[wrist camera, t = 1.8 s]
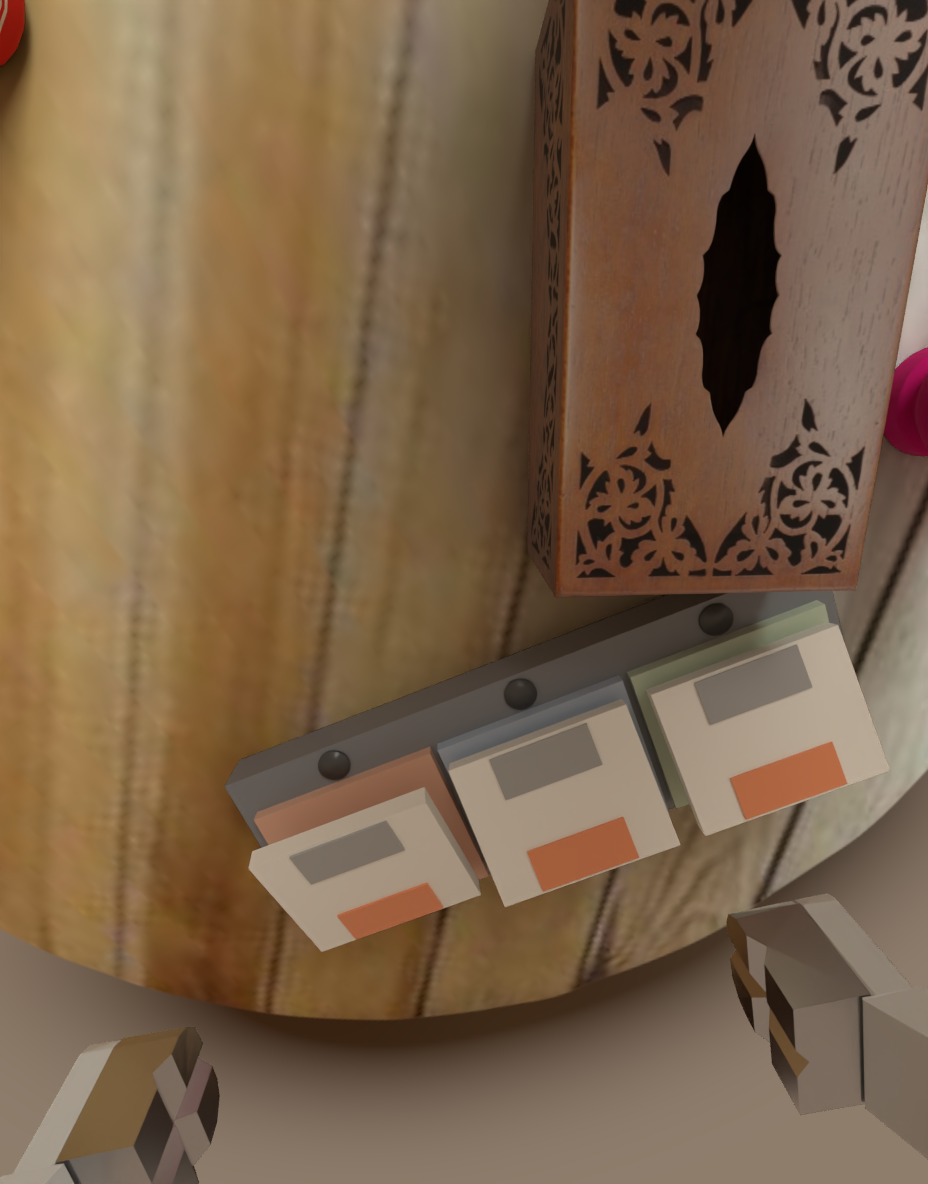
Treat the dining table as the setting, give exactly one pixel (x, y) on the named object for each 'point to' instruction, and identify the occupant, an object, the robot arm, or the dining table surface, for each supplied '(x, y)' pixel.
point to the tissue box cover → (718, 286)
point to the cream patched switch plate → (367, 870)
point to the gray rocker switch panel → (511, 712)
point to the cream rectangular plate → (564, 803)
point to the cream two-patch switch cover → (768, 728)
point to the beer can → (10, 27)
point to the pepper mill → (909, 406)
